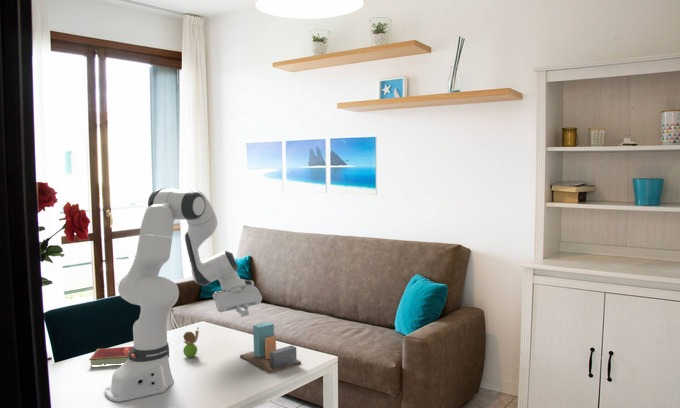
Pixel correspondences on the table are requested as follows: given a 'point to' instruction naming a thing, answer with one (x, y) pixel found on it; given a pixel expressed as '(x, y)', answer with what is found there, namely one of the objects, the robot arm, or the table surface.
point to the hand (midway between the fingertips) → (245, 315)
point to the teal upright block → (261, 337)
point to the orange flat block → (269, 346)
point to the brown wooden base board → (263, 362)
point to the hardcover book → (109, 356)
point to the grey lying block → (283, 357)
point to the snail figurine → (190, 343)
